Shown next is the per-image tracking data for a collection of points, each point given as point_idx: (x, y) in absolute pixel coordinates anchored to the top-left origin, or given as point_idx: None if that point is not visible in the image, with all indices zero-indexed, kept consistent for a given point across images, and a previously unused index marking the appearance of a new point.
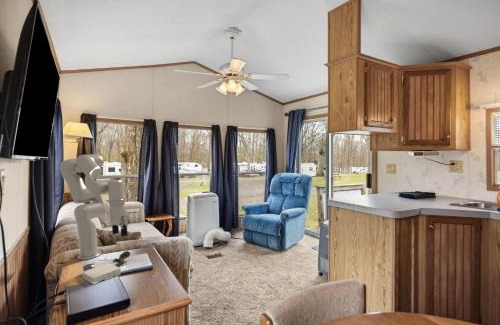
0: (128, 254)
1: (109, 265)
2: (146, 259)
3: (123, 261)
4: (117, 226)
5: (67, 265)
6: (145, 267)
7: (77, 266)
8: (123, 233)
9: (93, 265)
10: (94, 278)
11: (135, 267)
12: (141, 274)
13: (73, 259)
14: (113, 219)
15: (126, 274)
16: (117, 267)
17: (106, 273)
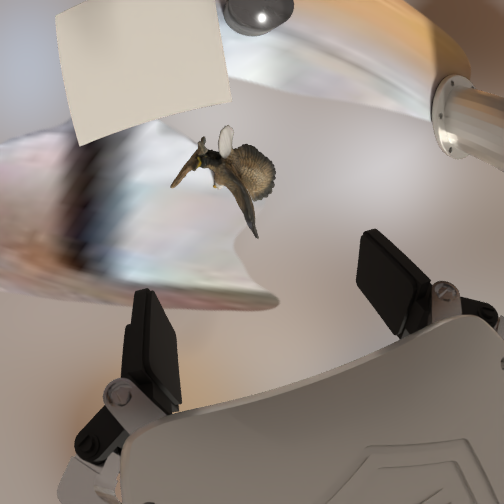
0: (251, 226)
1: (180, 97)
2: (207, 275)
3: (216, 181)
4: (397, 329)
5: (431, 21)
6: (103, 250)
7: (394, 27)
8: (129, 331)
9: (240, 19)
10: (57, 22)
11: (133, 214)
12: (37, 220)
13: (467, 69)
14: (383, 485)
15: (71, 163)
16: (103, 133)
17: (62, 73)
